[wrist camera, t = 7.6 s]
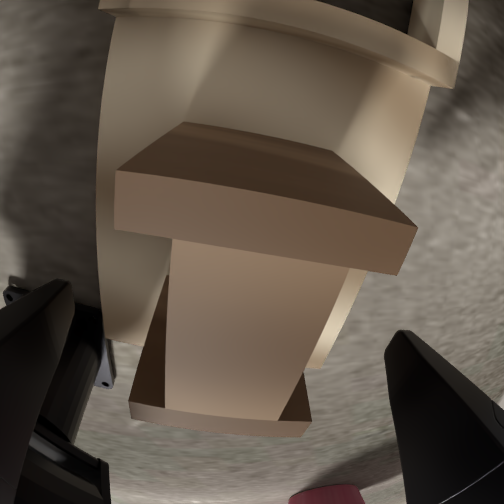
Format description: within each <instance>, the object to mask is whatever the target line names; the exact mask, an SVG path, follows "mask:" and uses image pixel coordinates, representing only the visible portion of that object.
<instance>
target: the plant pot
mask: <svg viewBox="0 0 504 504" xmlns="http://www.w3.org/2000/svg"><path fill="white" fill-rule="evenodd" d="M288 504H365V502H364V500H363V498H362V496H361V494H360V492H359V490H358V488H357V487H356V486H355V485H350V484H341V485H331V486H325V487H320V488H315V489H311V490H307V491H304V492H301V493H298V494H296V495H294V496H292V497H291V498H290V499H289V502H288Z"/></svg>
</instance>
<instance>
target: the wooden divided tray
mask: <svg viewBox="0 0 504 504" xmlns="http://www.w3.org/2000/svg"><path fill="white" fill-rule="evenodd" d="M468 4H469V0H413V6H412V12H411V17H410V23H409V28H408V33H407V34H405V33H402V32H400V31H398V30H396V29H394V28H391V27H389V26H387V25H384V24H382V23H379V22H377V21H374V20H372V19H369V18H367V17H364V16H361V15H359V14H356V13H353V12H350V11H347V10H344V9H341V8H338V7H335V6H332V5H329V4H326V3H322V2H319V1H315V0H100V3H99V7H98V9H99V10H101V11H103V12H106V13H108V14H110V15H113V16H115V17H116V20H115V24H114V29H113V33H112V38H111V43H110V49H109V54H108V60H107V66H106V73H105V79H104V87H103V94H102V103H101V112H100V122H99V134H98V148H97V168H96V239H97V259H98V274H99V286H100V297H101V306H102V315H103V323H104V330H105V337H106V339H110V340H115V341H119V342H124V343H129V344H133V345H138V346H143V350H142V353H141V357H140V360H139V364H138V367H137V371H136V374H135V378H134V382H133V385H132V389H131V393H130V396H129V400H128V402H129V408H130V413H131V419H135V420H140V421H145V422H150V423H155V424H161V425H166V426H172V427H178V428H185V429H192V430H199V431H207V432H216V433H225V434H236V435H250V436H268V437H301V436H302V435H303V434H304V432H305V431H306V429H307V428H308V427H309V425H310V424H311V422H312V418H311V413H310V407H309V401H308V395H307V389H306V384H305V378H304V373H303V371H304V369H305V368H318V369H320V368H321V367H322V365H323V363H324V361H325V359H326V357H327V355H328V353H329V351H330V350H331V348H332V346H333V344H334V342H335V340H336V338H337V336H338V334H339V332H340V330H341V328H342V326H343V324H344V322H345V320H346V318H347V315H348V313H349V311H350V309H351V307H352V305H353V303H354V301H355V299H356V296H357V294H358V292H359V290H360V288H361V285H362V283H363V281H364V279H365V276H366V274H367V272H368V271H372V272H378V273H384V274H390V275H396V276H397V274H398V272H399V270H400V268H401V266H402V264H403V262H404V259H405V257H406V255H407V253H408V250H409V248H410V246H411V244H412V241H413V239H414V237H415V234H416V232H417V229H418V227H417V226H416V225H415V224H414V223H413V222H412V221H411V220H410V219H409V218H408V217H407V216H406V215H405V214H404V213H403V212H402V211H401V210H400V209H399V208H397V207H396V206H395V205H394V204H395V202H396V199H397V196H398V193H399V190H400V187H401V185H402V182H403V179H404V176H405V173H406V170H407V167H408V164H409V161H410V157H411V154H412V151H413V148H414V145H415V141H416V138H417V135H418V131H419V128H420V124H421V121H422V117H423V113H424V109H425V106H426V102H427V98H428V94H429V90H430V86H436V87H444V88H451V89H454V86H455V81H456V77H457V72H458V67H459V62H460V57H461V52H462V46H463V40H464V34H465V27H466V20H467V13H468Z"/></svg>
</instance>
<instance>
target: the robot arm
mask: <svg viewBox="0 0 504 504" xmlns="http://www.w3.org/2000/svg"><path fill="white" fill-rule="evenodd" d="M3 296H4V300H5V303H6V306H5V307H3V308H2V309H0V504H111V495H110V481H109V464H108V463H107V462H105V461H103V460H101V459H99V458H97V459H96V458H95V457H93V456H91V455H89V454H88V453H86V452H84V451H83V450H81V449H79V448H78V447H76V446H74V442H75V439H76V436H77V433H78V430H79V426H80V423H81V420H82V417H83V414H84V411H85V408H86V405H87V402H88V399H89V397H90V394H91V391H92V388H93V385H94V386H98V387H102V388H106V389H112V388H113V385H114V376H113V371H112V365H111V359H110V353H109V346H108V339H106V337H105V330H104V323H103V315H102V312H101V311H100V310H99V309H97V308H93V307H89V306H85V305H80V304H76V303H74V298H73V292H72V286H71V283H70V282H69V281H65V280H61V279H55V280H53V281H51V282H49V283H47V284H45V285H43V286H42V287H40V288H38V289H36V290H34V291H32V292H29V291H26V290H22V289H19V288H15V287H12V286H8V287H7V288H6V289H5V290H4V292H3ZM93 317H95V318H96V319H95V318H93ZM384 360H385V368H386V375H387V384H388V392H389V400H390V406H391V411H392V416H393V421H394V426H395V431H396V437H397V442H398V448H399V454H400V460H401V466H402V472H403V479H404V486H405V494H406V502H407V504H504V410H503V409H502V408H501V407H500V406H499V405H497V404H496V403H495V402H494V401H493V400H491V398H489V397H488V396H487V395H486V394H485V393H484V392H483V391H482V390H480V389H479V388H478V387H477V386H476V385H475V384H474V383H472V382H471V381H470V380H469V379H468V378H467V377H465V376H464V375H463V374H462V373H461V372H460V371H458V370H457V369H456V368H455V367H454V366H453V365H451V364H450V363H449V362H448V361H447V360H445V359H444V358H443V357H442V356H441V355H440V354H438V353H437V352H436V351H435V350H434V349H432V348H431V347H430V346H429V345H428V344H426V343H425V342H424V341H423V340H422V339H420V338H419V337H418V336H417V335H416V334H414V333H413V332H412V331H410V330H398V331H397V332H396V333H395V335H394V336H393V338H392V340H391V341H390V343H389V344H388V346H387V348H386V349H385V353H384Z"/></svg>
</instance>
